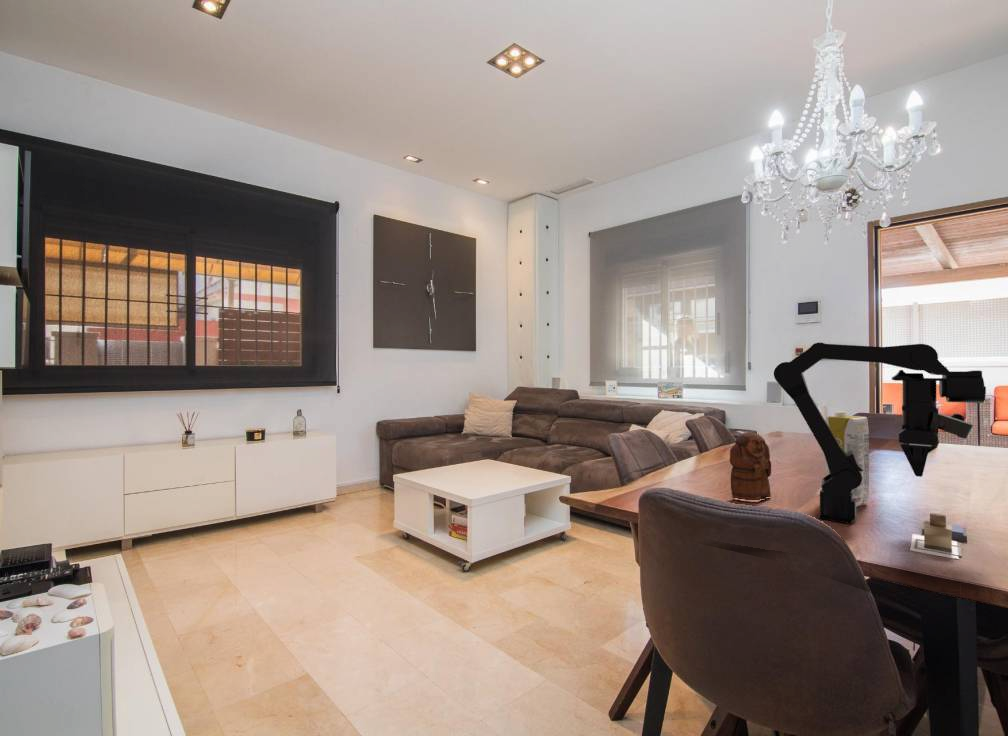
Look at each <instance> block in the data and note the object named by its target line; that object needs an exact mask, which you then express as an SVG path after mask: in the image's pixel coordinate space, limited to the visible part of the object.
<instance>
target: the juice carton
mask: <svg viewBox="0 0 1008 736" xmlns="http://www.w3.org/2000/svg"><path fill="white" fill-rule="evenodd" d="M833 414H834V416H829V415H828V416H825V421H826V423H827V424H828V426H829V428H830V430H831V431H832V433H833V435H834V436H835V438H836V440H837V442H838V443H839V445H840V446H841V447H842V449H843V450H844V451H845V452H846V453H848V452H850V451H853V453H854V456H855V458H856V460H857V462H858V463H859V464H861V465H862V469H863V471H861V475H862V482H861V484H860V485H859V486H858V487H857V488H855V489H852V491H851V493H853V500H856V508H857V507H859V506H864V505H867V504H868V502H869V495H870V448H869V447H870V444H869V443H870V439H869V438H870V433H869V431H870V429H869V422H868V417H867V416H861V415H848V414H847V412H846V411H834V412H833ZM828 474H830V471H829V468H828V465H827V462H826V458H825V457H824V477H826V476H827V475H828Z"/></svg>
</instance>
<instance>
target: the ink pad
mask: <svg viewBox="0 0 1008 736" xmlns="http://www.w3.org/2000/svg"><path fill="white" fill-rule="evenodd" d="M925 521H929V522H930V520H923V521H922V524H921V525H922V527H921V536H924V524H925ZM946 524H949V525H951V527H952V541H957V542H958V541H959V542H964V543H966V542H968V534H967V527H963V525H959V524H953V523H947V522H946Z"/></svg>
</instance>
